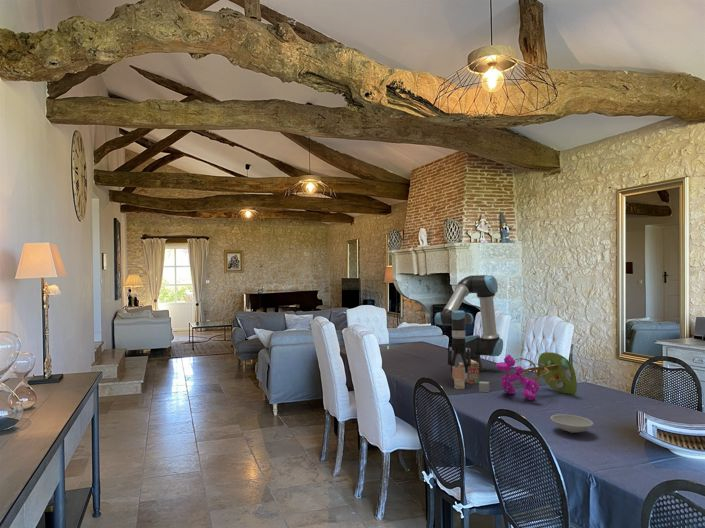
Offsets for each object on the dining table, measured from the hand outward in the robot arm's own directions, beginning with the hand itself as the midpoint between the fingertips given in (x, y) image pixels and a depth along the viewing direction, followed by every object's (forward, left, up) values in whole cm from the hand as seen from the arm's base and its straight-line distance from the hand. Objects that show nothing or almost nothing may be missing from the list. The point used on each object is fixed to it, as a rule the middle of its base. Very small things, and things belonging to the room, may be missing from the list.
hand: (459, 377), depth 289 cm
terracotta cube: (0, 0, 0) cm, 0 cm away
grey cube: (+4, +16, -5) cm, 17 cm away
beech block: (0, 0, -5) cm, 5 cm away
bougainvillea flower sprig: (+1, +42, -5) cm, 43 cm away
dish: (+56, +72, -5) cm, 91 cm away
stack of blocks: (-21, -3, -5) cm, 21 cm away
